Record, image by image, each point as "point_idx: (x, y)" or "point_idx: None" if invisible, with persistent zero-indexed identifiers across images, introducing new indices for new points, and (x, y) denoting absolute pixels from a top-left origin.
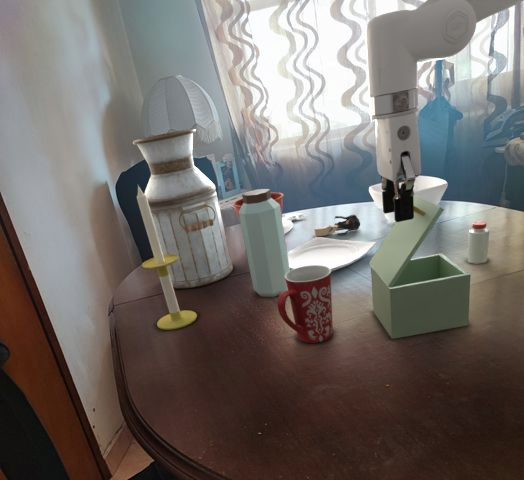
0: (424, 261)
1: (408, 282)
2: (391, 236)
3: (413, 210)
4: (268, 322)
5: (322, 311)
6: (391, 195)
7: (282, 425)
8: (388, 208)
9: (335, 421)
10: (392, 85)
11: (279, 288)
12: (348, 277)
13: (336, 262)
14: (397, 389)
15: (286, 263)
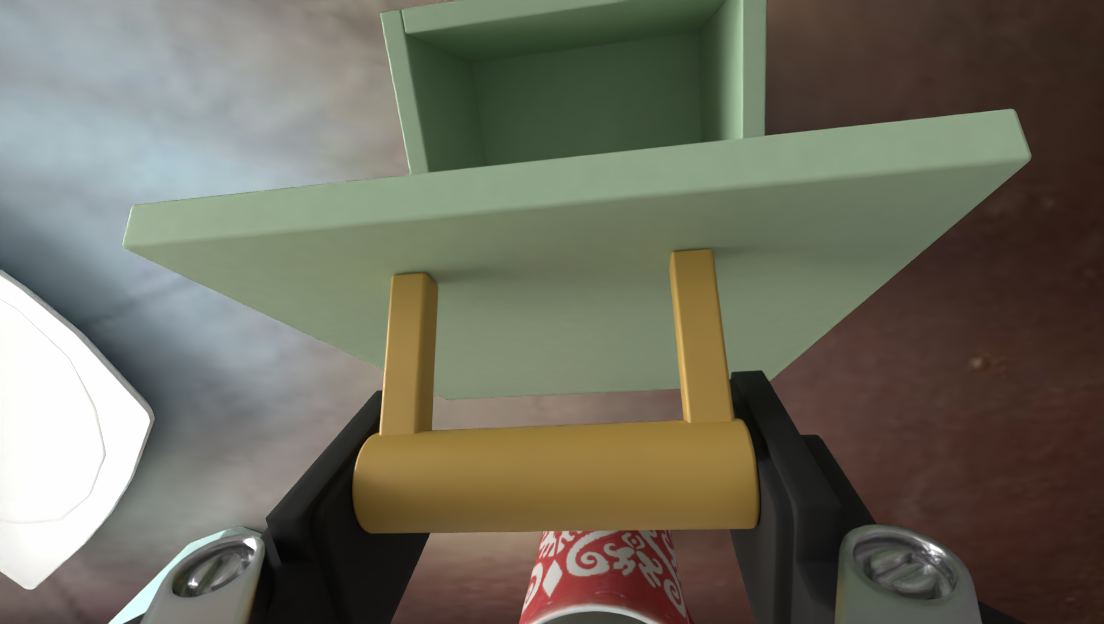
0: (427, 122)
1: None
2: (445, 361)
3: (781, 403)
4: (485, 595)
5: (670, 545)
6: (366, 565)
7: (1031, 604)
8: None
9: (1076, 504)
10: None
11: None
12: (176, 337)
13: (35, 363)
14: (1011, 342)
15: None
